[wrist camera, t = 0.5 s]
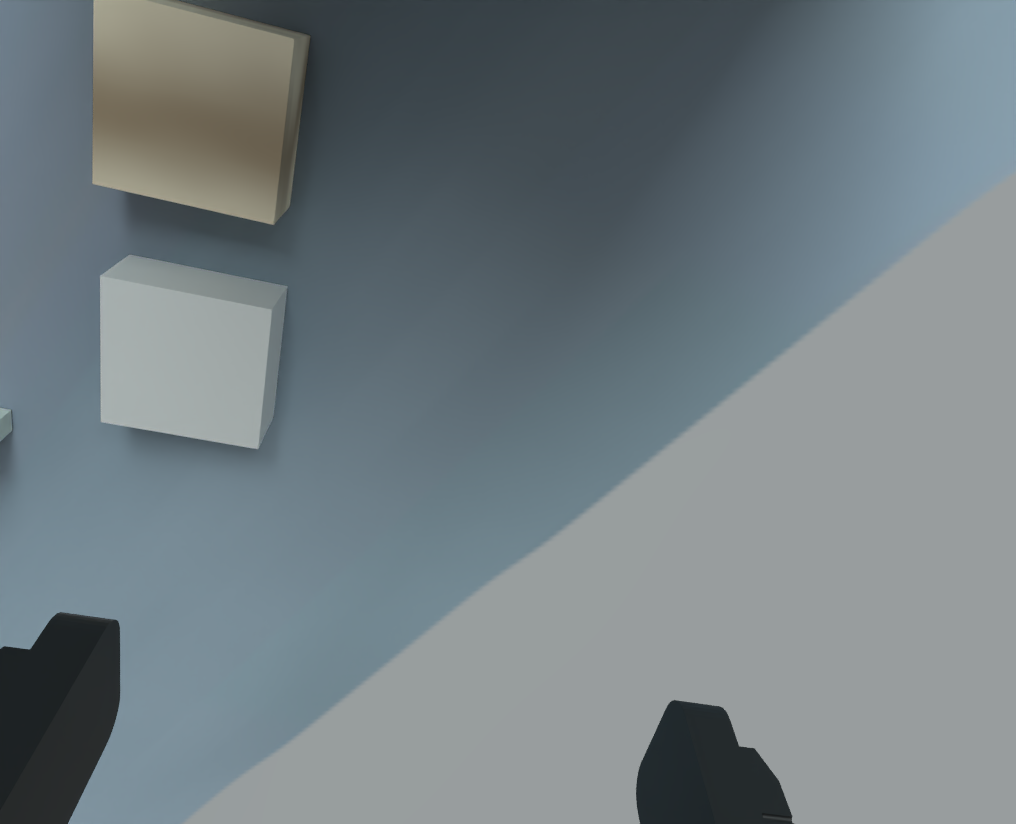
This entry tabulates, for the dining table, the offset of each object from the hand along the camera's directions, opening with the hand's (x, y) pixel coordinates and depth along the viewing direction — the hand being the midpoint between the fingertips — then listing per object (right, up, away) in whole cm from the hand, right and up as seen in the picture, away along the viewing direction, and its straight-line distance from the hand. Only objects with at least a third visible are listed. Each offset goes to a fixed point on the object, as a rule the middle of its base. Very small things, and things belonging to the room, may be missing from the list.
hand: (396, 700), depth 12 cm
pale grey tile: (-11, +7, +21) cm, 24 cm away
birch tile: (-9, +15, +17) cm, 24 cm away
